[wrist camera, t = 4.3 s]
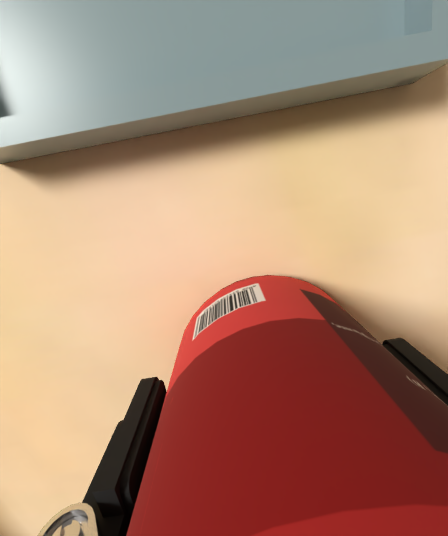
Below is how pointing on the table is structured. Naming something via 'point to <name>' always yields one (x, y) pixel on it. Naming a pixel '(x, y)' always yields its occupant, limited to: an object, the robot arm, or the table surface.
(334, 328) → the canned food
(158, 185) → the table surface
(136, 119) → the tray
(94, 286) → the table surface
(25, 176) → the table surface
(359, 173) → the table surface
